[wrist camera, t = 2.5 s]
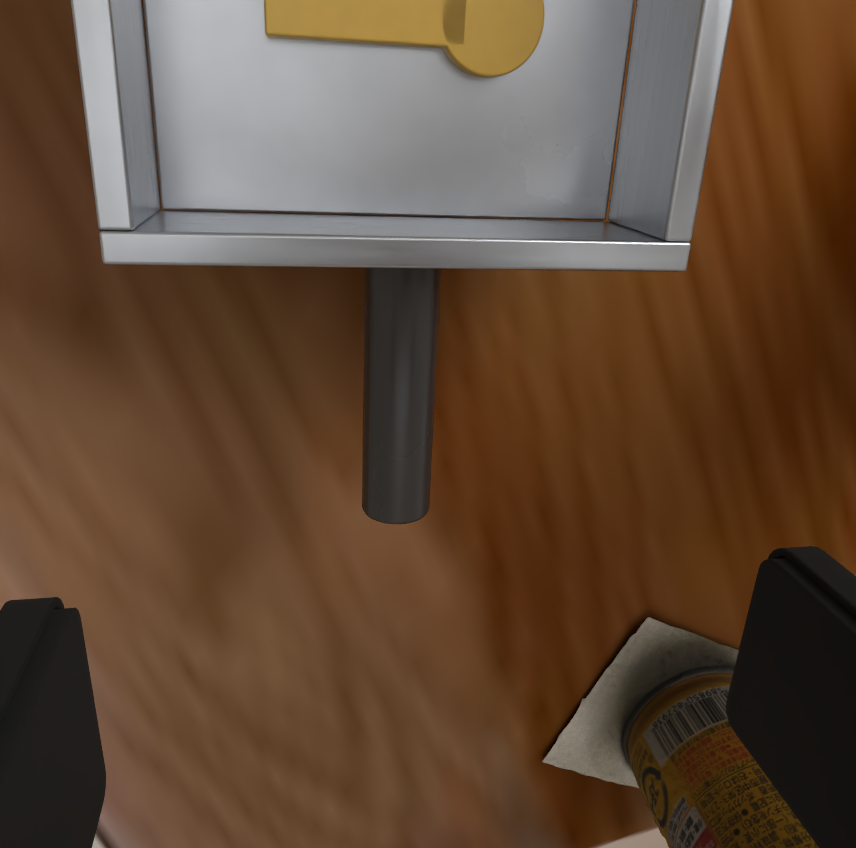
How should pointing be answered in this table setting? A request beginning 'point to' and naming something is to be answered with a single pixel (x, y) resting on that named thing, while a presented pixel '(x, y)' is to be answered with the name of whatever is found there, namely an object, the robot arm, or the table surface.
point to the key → (420, 27)
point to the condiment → (678, 744)
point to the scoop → (397, 167)
